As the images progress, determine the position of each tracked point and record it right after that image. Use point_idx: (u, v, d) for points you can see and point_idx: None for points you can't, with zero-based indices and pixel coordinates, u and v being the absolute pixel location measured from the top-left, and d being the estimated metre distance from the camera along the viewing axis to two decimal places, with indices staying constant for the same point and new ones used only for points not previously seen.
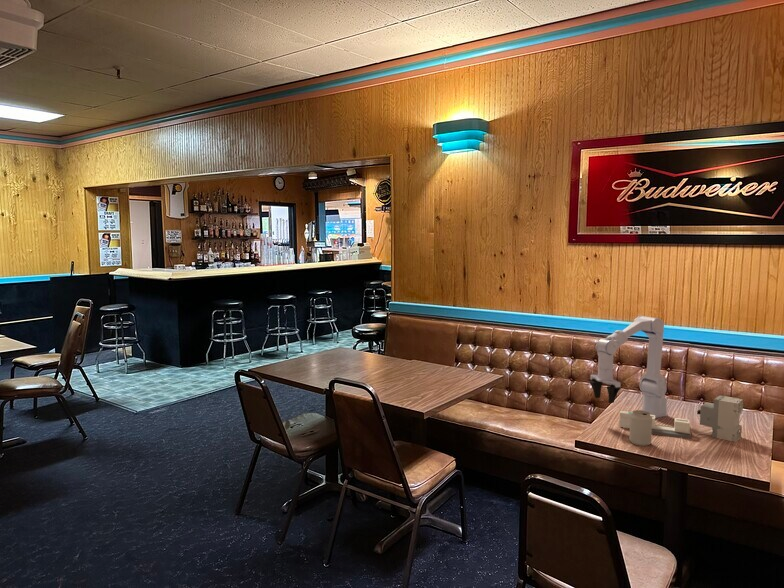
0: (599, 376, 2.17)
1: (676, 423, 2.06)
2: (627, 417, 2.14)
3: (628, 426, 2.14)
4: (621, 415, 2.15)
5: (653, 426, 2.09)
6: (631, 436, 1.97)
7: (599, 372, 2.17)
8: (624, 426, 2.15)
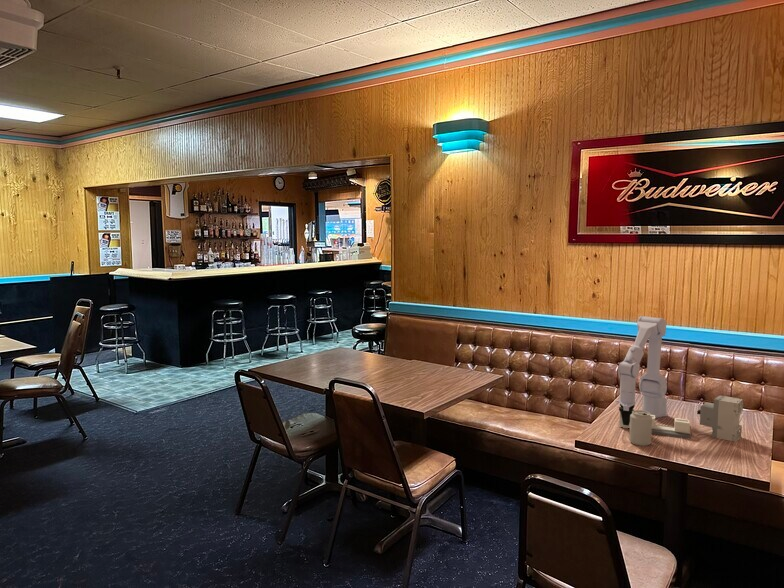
0: None
1: (676, 423, 2.06)
2: None
3: (628, 426, 2.14)
4: None
5: (653, 426, 2.09)
6: (631, 436, 1.97)
7: None
8: (624, 426, 2.15)
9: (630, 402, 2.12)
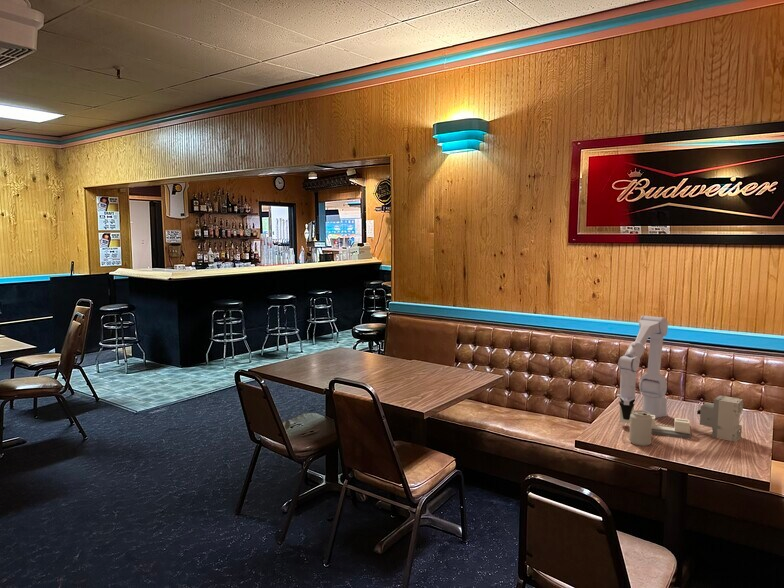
0: None
1: (676, 423, 2.06)
2: None
3: (628, 420, 2.14)
4: (621, 409, 2.15)
5: (653, 426, 2.09)
6: (631, 436, 1.97)
7: None
8: (624, 420, 2.14)
9: (630, 396, 2.12)
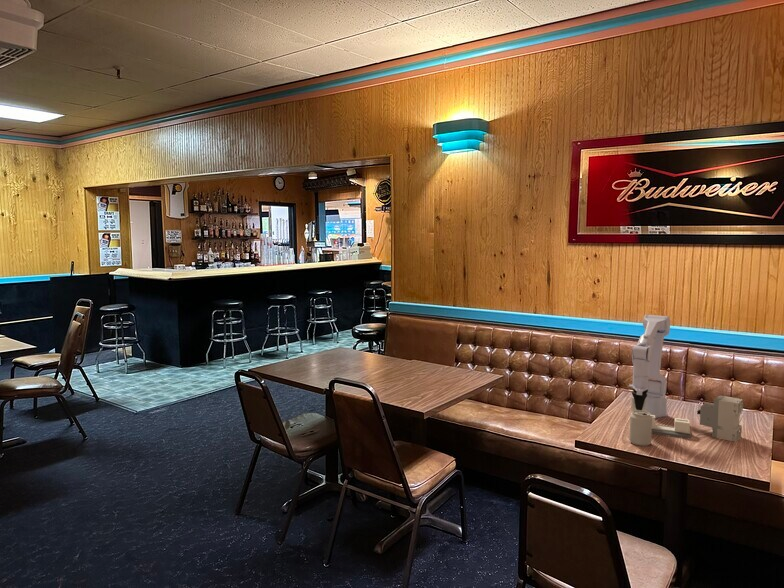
0: None
1: (676, 423, 2.06)
2: None
3: None
4: (633, 400, 2.13)
5: (653, 426, 2.09)
6: (631, 436, 1.97)
7: None
8: None
9: (643, 387, 2.10)
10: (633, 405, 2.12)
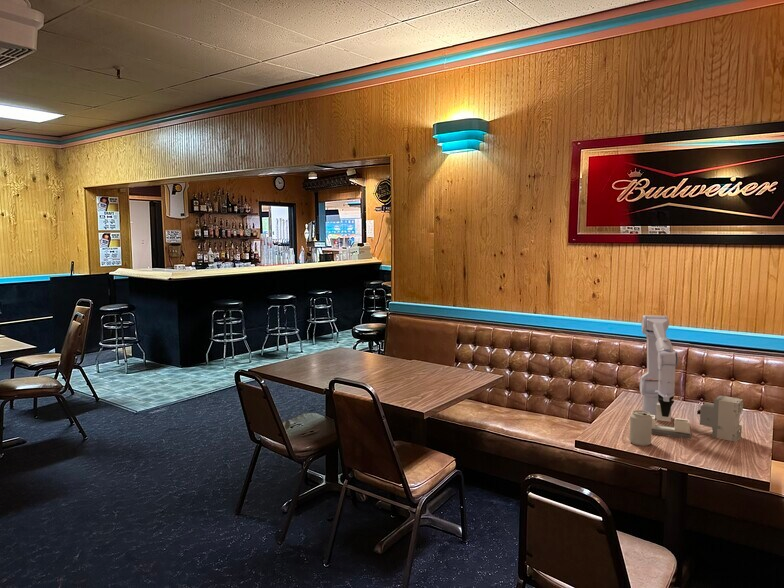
0: (658, 388, 2.10)
1: (676, 423, 2.06)
2: None
3: (666, 418, 2.07)
4: (658, 407, 2.09)
5: (653, 426, 2.09)
6: (631, 436, 1.97)
7: None
8: (662, 418, 2.08)
9: (670, 393, 2.06)
10: (658, 412, 2.08)
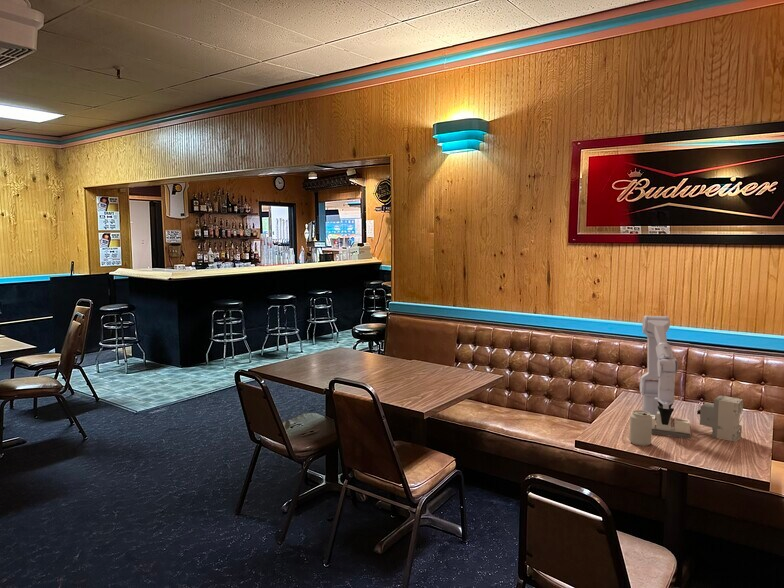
0: (658, 395, 2.10)
1: (676, 423, 2.06)
2: None
3: (665, 427, 2.08)
4: (658, 416, 2.09)
5: (653, 426, 2.09)
6: (631, 436, 1.97)
7: (658, 391, 2.10)
8: (661, 427, 2.08)
9: (669, 400, 2.06)
10: (658, 421, 2.09)
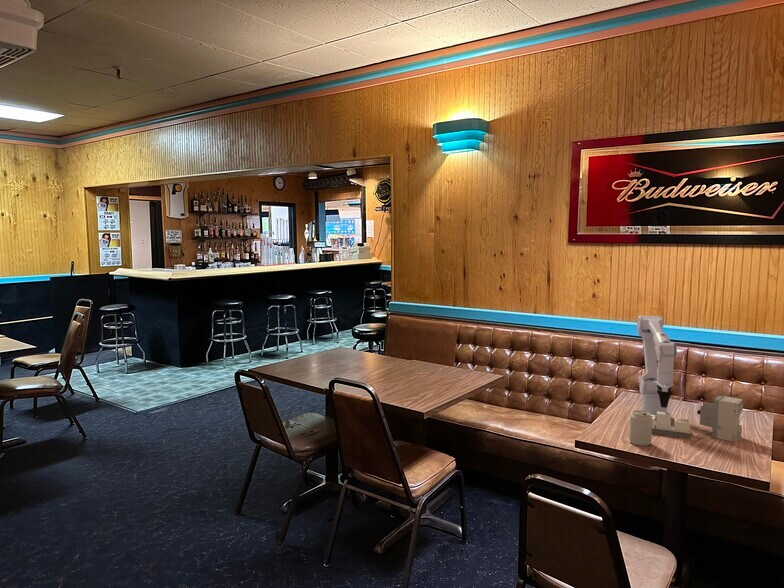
0: (657, 379, 2.15)
1: (676, 423, 2.06)
2: (664, 418, 2.08)
3: (665, 427, 2.08)
4: (658, 416, 2.09)
5: (653, 426, 2.09)
6: (631, 436, 1.97)
7: (657, 375, 2.15)
8: (661, 427, 2.08)
9: (668, 383, 2.11)
10: (658, 421, 2.09)
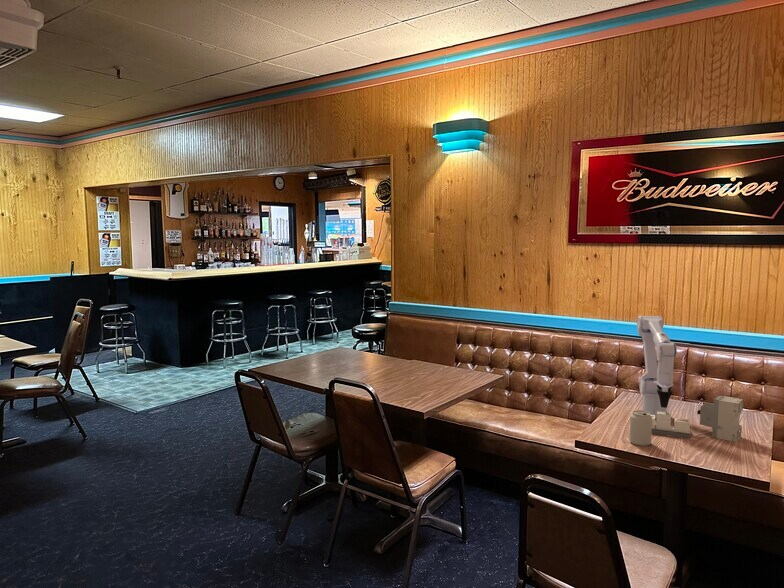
0: (657, 379, 2.15)
1: (676, 423, 2.06)
2: (664, 418, 2.08)
3: (665, 427, 2.08)
4: (658, 416, 2.09)
5: (653, 426, 2.09)
6: (631, 436, 1.97)
7: (657, 375, 2.15)
8: (661, 427, 2.08)
9: (668, 383, 2.11)
10: (658, 421, 2.09)
